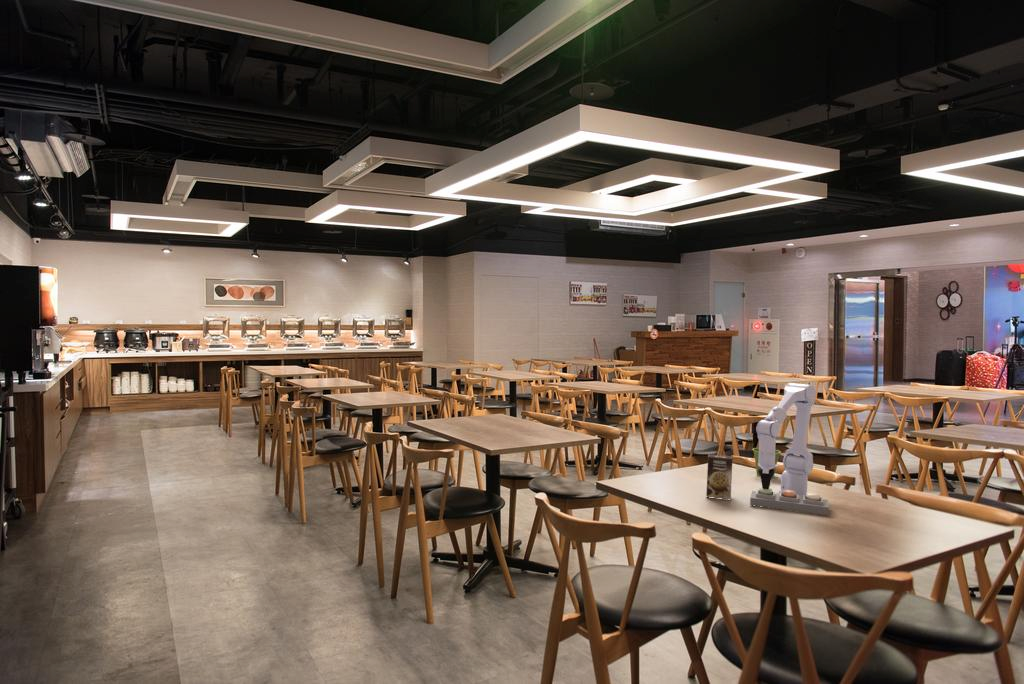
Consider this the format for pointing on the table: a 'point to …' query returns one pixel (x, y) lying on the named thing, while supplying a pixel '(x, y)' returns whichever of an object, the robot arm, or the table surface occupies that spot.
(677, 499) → the table surface
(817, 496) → the cream button
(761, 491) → the sage button
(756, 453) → the plant pot
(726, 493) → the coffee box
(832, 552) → the table surface
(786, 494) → the terracotta button
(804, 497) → the button panel
